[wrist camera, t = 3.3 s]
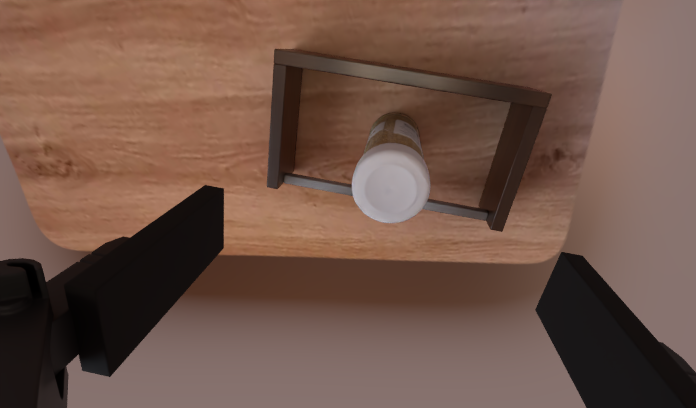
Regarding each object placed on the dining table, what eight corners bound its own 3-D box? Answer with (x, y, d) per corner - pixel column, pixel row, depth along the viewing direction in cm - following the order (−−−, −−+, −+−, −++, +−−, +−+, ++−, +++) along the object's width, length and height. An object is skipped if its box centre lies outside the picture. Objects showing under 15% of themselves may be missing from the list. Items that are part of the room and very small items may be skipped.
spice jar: (362, 121, 33) (338, 165, 20) (411, 104, 31) (417, 139, 19) (378, 168, 34) (365, 234, 22) (426, 153, 33) (440, 214, 21)
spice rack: (529, 87, 30) (552, 94, 25) (488, 207, 34) (502, 231, 30) (292, 49, 31) (274, 48, 26) (283, 169, 35) (266, 187, 31)
